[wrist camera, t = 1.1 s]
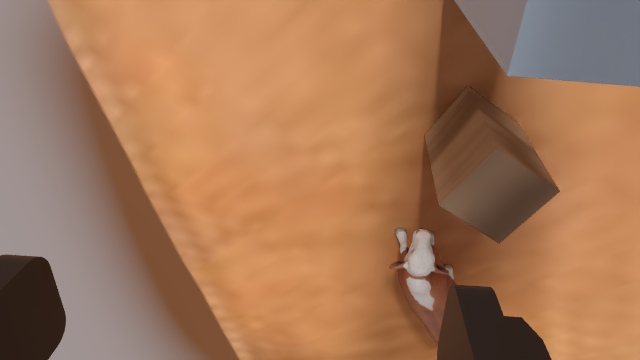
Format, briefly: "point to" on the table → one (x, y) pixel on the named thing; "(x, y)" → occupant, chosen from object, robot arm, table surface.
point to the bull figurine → (424, 278)
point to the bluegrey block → (561, 38)
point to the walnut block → (486, 167)
